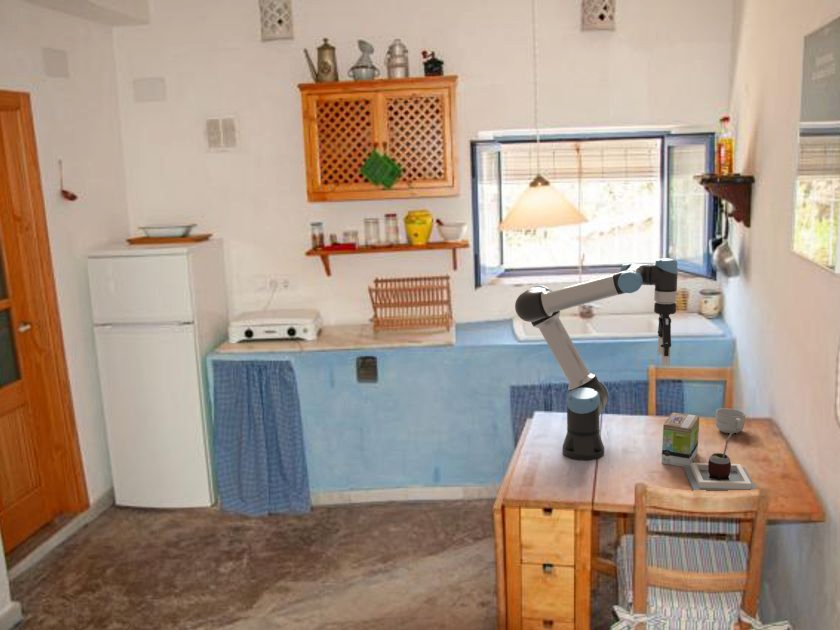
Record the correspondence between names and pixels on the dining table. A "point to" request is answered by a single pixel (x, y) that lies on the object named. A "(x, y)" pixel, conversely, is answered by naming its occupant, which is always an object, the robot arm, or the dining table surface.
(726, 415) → the teacup
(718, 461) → the mate gourd
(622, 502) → the dining table surface
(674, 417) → the tea box
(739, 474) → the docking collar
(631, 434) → the dining table surface
